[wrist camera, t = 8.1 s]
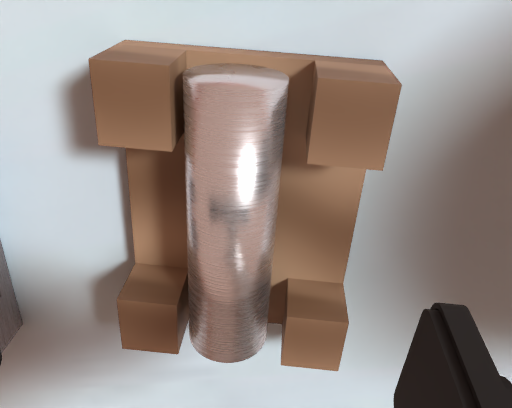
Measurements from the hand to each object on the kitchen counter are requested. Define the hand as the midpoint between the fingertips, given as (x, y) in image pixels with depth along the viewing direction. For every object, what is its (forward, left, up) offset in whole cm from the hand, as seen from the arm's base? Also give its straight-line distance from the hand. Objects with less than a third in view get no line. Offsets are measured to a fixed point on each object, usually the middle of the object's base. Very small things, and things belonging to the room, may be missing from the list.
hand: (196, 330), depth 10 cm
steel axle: (-1, 0, -6) cm, 6 cm away
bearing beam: (-1, 0, -8) cm, 8 cm away
